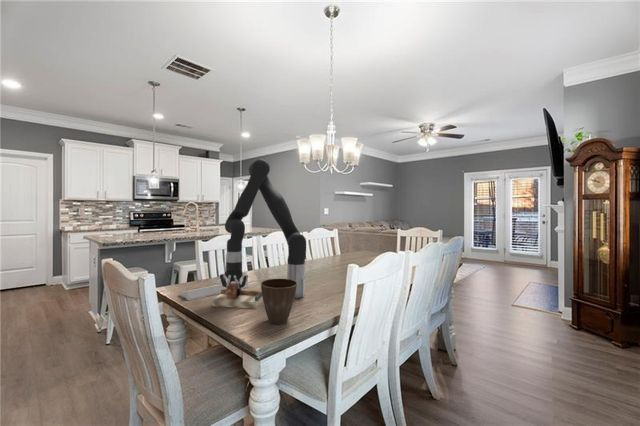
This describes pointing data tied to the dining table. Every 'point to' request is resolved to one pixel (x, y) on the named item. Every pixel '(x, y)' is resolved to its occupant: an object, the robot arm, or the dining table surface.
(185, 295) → the decorative molding
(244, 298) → the board
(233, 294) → the reddish-brown block with stick
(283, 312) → the plant pot
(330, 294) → the dining table surface
